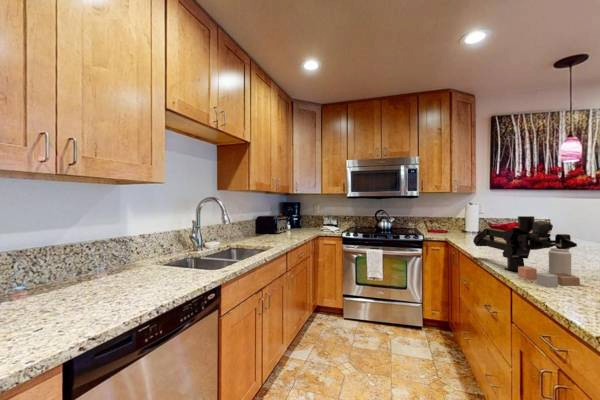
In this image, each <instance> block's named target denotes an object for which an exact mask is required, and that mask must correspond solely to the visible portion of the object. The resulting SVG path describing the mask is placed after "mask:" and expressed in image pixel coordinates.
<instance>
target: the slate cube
mask: <svg viewBox="0 0 600 400" xmlns="http://www.w3.org/2000/svg"><path fill="white" fill-rule="evenodd" d="M548 273H549V272H541V273H538V272H537V279H536V285H539V286H541V287H544V288H548V289H549V288H550V289H551V288H558V287H559V286H558V276H556V275H552V274H548Z"/></svg>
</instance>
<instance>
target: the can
mask: <svg viewBox="0 0 600 400" xmlns="http://www.w3.org/2000/svg"><path fill="white" fill-rule="evenodd" d="M549 249H550V250H548V273H565V274H568V275H572V252H570V249H557V248H556V247H549Z"/></svg>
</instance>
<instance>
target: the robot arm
mask: <svg viewBox="0 0 600 400" xmlns="http://www.w3.org/2000/svg"><path fill="white" fill-rule="evenodd" d="M517 225H518V226H517V227H511V229H509V230H503V229H496V228H492V227H491V228H490V227H488V228H487V227H486V228H483V230H482V231H480V232H478V233H477V234H476V235H474V238H473V240H472V241H473V244H474V246H475V247H489V248H493V249H496V250H501V251H502V257H503V258H506V259H507V260H506V261H507V263H506V264H507V266H506V267H504V270H506V271H509V272H512V273H518V267H525V261H524V260H526V259H529V256H530V253H531V251H537V250H544V249H550V248H554V247H555V248H557V249H569V250H570V249H572V248H576V247H578V243H576V242H574V241H572V240H571V235H570V234H566V233H563V234H562V233H558V234H555V236H554V238H555V239H551V233H549V232H551V231H553V228H554V225H553V224H551V222H550V221H549V222H548V221H543V220H541V221H539V220H538V221H535V216H534V215H533V216H532V215H529V216H527V215H526V216H525V215H524V216H523V215H522V216H520V215H518V216H517ZM495 238H498V239H499V238H500V239H503V241H502V240H501V241H500V240H497V239H495Z"/></svg>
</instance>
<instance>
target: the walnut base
mask: <svg viewBox="0 0 600 400" xmlns="http://www.w3.org/2000/svg"><path fill="white" fill-rule="evenodd" d="M547 273H548V274H552V275H556V276H558V285H559V286H561V287H567V286H568V287H570V286H571V287H574V286H575V287H578V286H580V283H581V280H580V277H578V276H575V275H572V274H571V275H568V274H565V273H550V272H547Z"/></svg>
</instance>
